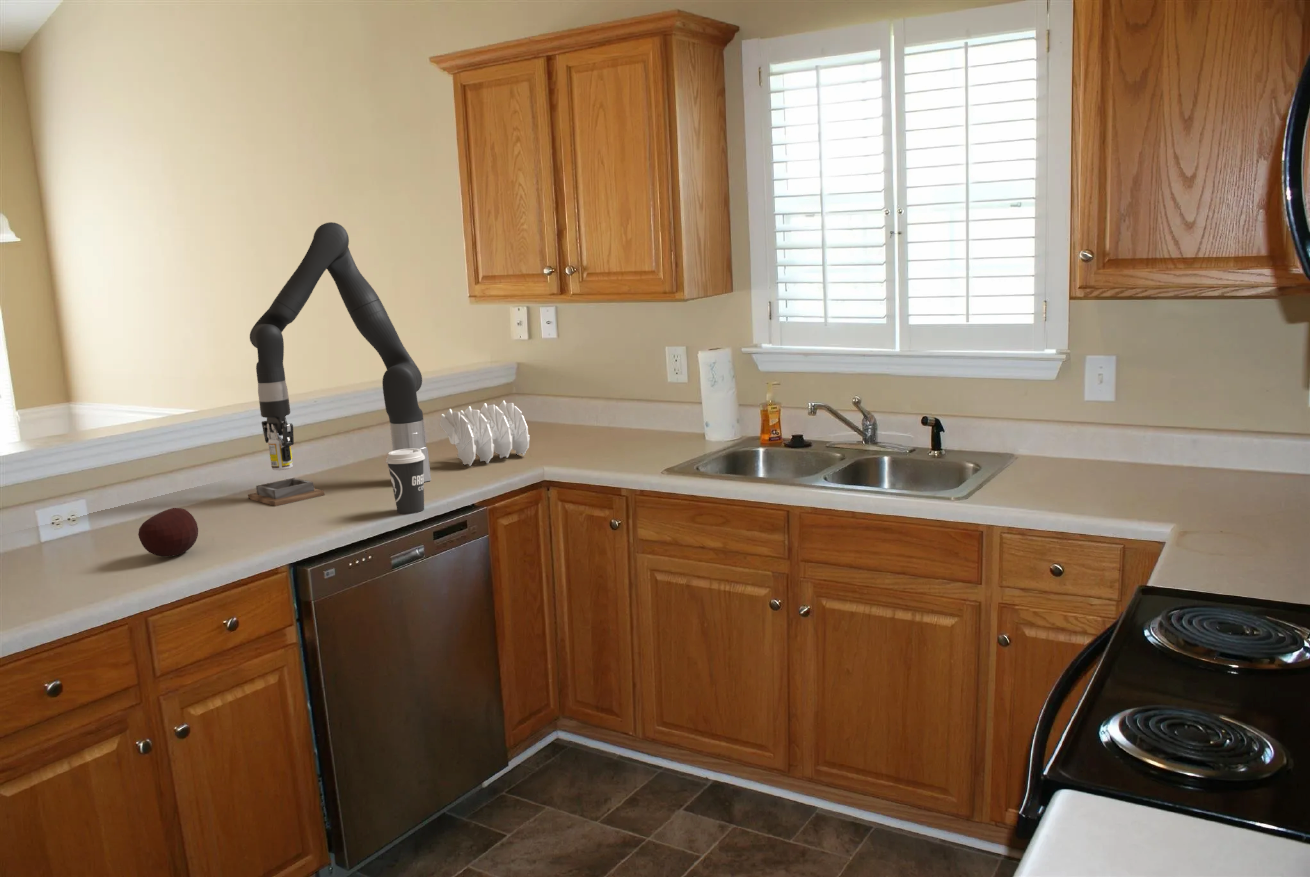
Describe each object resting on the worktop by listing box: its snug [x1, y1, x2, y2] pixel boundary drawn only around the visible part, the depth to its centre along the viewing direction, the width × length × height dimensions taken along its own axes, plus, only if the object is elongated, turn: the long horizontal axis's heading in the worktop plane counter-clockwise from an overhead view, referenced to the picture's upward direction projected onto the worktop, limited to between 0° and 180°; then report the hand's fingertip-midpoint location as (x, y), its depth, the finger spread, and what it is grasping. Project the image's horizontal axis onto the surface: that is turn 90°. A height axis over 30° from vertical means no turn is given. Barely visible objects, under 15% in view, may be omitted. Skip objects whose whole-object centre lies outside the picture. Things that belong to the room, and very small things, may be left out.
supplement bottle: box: [268, 432, 294, 471], centre depth 281 cm, size 6×6×10 cm
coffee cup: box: [385, 448, 425, 515], centre depth 257 cm, size 10×10×15 cm
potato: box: [137, 507, 199, 557], centre depth 229 cm, size 11×13×10 cm
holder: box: [247, 477, 325, 507], centre depth 283 cm, size 16×14×4 cm
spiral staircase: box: [439, 400, 531, 467], centre depth 314 cm, size 18×18×25 cm
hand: (281, 459), depth 281 cm, fingers closed on supplement bottle, 5 cm apart
